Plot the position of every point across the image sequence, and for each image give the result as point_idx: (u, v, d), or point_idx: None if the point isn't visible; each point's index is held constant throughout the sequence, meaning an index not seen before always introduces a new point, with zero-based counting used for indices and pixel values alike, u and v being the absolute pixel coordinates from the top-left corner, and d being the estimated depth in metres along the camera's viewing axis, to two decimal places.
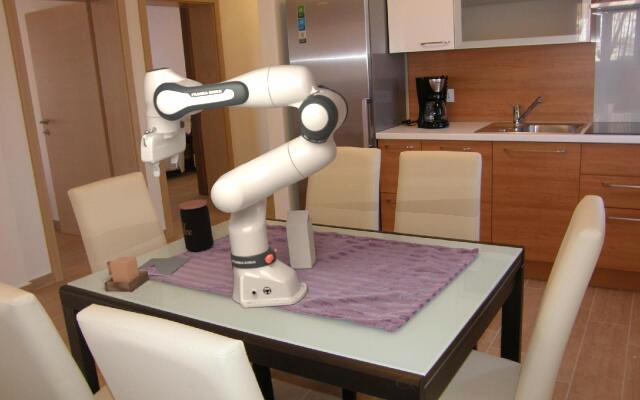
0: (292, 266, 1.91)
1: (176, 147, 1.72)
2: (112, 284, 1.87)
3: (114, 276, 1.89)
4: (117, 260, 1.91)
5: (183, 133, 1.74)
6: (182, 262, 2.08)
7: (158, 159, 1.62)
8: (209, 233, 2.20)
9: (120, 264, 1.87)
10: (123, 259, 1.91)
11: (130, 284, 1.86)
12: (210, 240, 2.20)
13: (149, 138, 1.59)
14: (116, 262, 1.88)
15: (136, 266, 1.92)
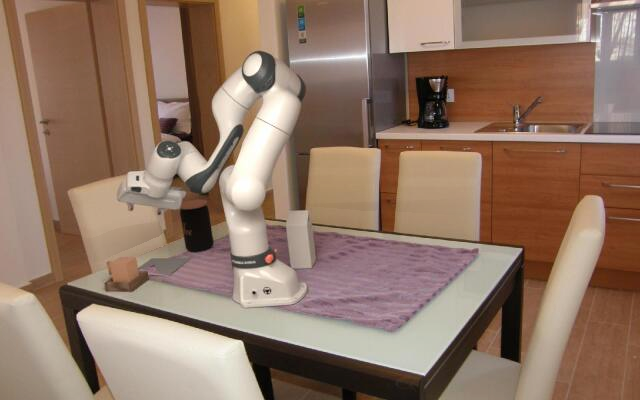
0: (292, 266, 1.91)
1: None
2: (112, 284, 1.87)
3: (114, 276, 1.89)
4: (117, 260, 1.91)
5: None
6: (182, 262, 2.08)
7: None
8: (209, 233, 2.20)
9: (120, 264, 1.87)
10: (123, 259, 1.91)
11: (130, 284, 1.86)
12: (210, 240, 2.20)
13: None
14: (116, 262, 1.88)
15: (136, 266, 1.92)
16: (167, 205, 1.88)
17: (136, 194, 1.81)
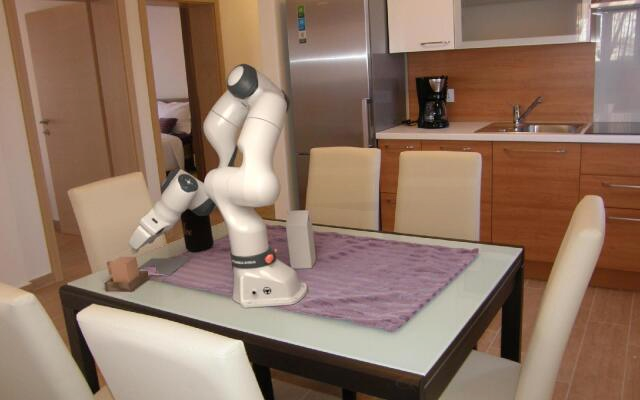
0: (292, 266, 1.91)
1: None
2: (112, 284, 1.87)
3: (114, 276, 1.89)
4: (117, 260, 1.91)
5: None
6: (182, 262, 2.08)
7: None
8: (209, 233, 2.20)
9: (120, 264, 1.87)
10: (123, 259, 1.91)
11: (130, 284, 1.86)
12: (210, 240, 2.20)
13: None
14: (116, 262, 1.88)
15: (136, 266, 1.92)
16: (164, 231, 1.90)
17: None
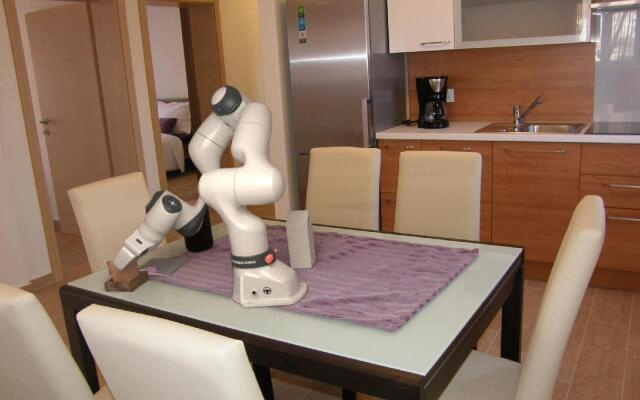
0: (292, 266, 1.91)
1: None
2: (112, 284, 1.87)
3: (114, 276, 1.89)
4: None
5: None
6: (182, 262, 2.08)
7: None
8: (209, 233, 2.20)
9: None
10: None
11: (130, 284, 1.86)
12: (210, 240, 2.20)
13: None
14: None
15: (136, 266, 1.92)
16: None
17: None
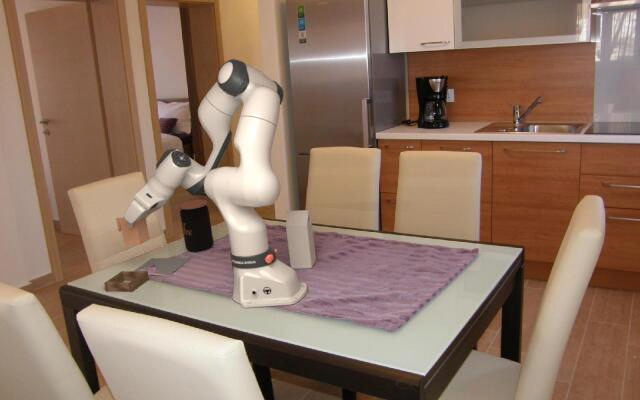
0: (292, 266, 1.91)
1: None
2: (112, 284, 1.87)
3: (124, 232, 1.92)
4: None
5: None
6: (182, 262, 2.08)
7: None
8: (209, 233, 2.20)
9: None
10: None
11: (130, 284, 1.86)
12: (210, 240, 2.20)
13: None
14: None
15: (145, 222, 1.96)
16: (158, 207, 1.97)
17: None
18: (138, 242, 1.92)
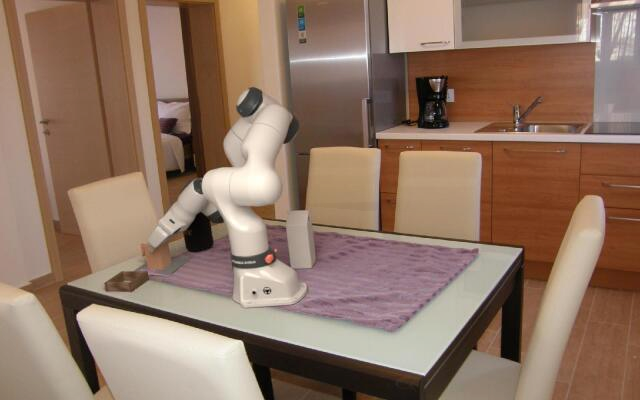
0: (292, 266, 1.91)
1: None
2: (112, 284, 1.87)
3: (148, 257, 2.03)
4: None
5: None
6: (182, 262, 2.08)
7: None
8: (209, 233, 2.20)
9: None
10: None
11: (130, 284, 1.86)
12: (210, 240, 2.20)
13: None
14: None
15: (168, 248, 2.06)
16: None
17: None
18: (161, 267, 2.02)
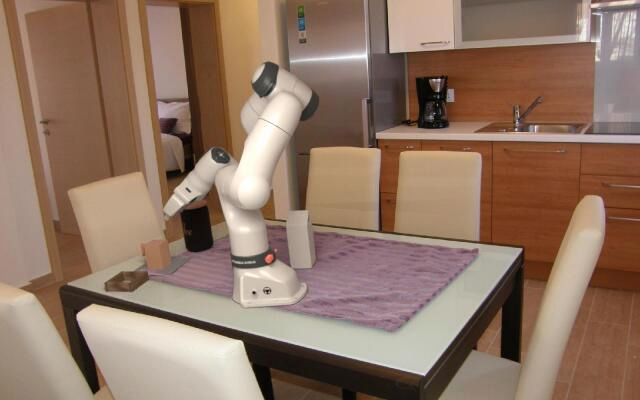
0: (292, 266, 1.91)
1: None
2: (112, 284, 1.87)
3: (148, 257, 2.03)
4: (150, 242, 2.05)
5: None
6: (182, 262, 2.08)
7: None
8: (209, 233, 2.20)
9: (153, 246, 2.01)
10: (156, 242, 2.04)
11: (130, 284, 1.86)
12: (210, 240, 2.20)
13: None
14: (150, 244, 2.02)
15: (168, 248, 2.06)
16: None
17: None
18: (161, 267, 2.02)
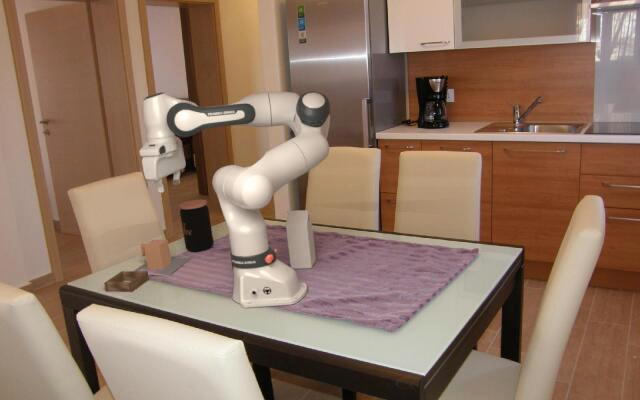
0: (292, 266, 1.91)
1: None
2: (112, 284, 1.87)
3: (148, 257, 2.03)
4: (150, 242, 2.05)
5: None
6: (182, 262, 2.08)
7: None
8: (209, 233, 2.20)
9: (153, 246, 2.01)
10: (156, 242, 2.04)
11: (130, 284, 1.86)
12: (210, 240, 2.20)
13: None
14: (150, 244, 2.02)
15: (168, 248, 2.06)
16: (179, 164, 1.88)
17: (161, 163, 1.78)
18: (161, 267, 2.02)
